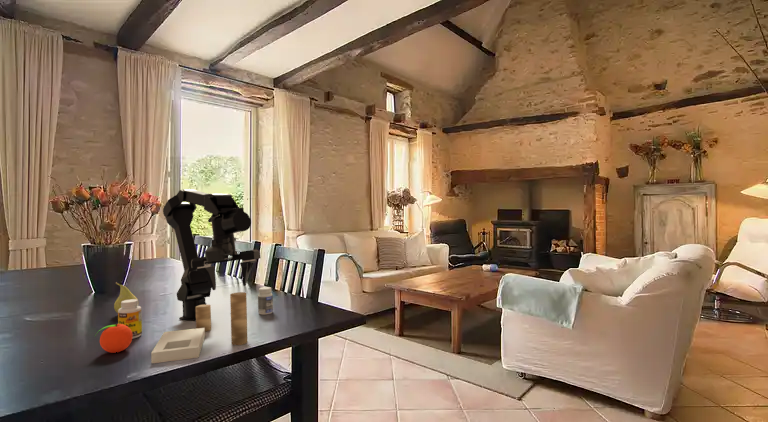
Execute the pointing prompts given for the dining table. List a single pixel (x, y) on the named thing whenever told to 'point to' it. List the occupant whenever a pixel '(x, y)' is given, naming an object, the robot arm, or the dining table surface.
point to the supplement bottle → (131, 316)
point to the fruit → (123, 297)
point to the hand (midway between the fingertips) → (229, 287)
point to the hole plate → (178, 345)
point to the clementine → (115, 338)
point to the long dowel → (238, 318)
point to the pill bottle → (265, 301)
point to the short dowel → (203, 317)
